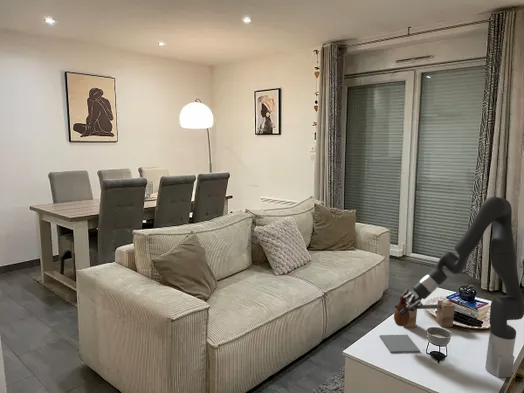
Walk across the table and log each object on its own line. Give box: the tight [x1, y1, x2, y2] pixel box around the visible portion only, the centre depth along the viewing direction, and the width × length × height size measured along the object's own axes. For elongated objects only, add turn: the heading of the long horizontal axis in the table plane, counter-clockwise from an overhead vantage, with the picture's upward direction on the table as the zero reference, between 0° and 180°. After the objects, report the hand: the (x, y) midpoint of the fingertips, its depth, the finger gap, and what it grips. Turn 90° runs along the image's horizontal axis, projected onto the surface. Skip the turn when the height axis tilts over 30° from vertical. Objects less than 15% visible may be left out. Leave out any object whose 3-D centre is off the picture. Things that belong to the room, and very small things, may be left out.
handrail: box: [402, 299, 456, 329], centre depth 204 cm, size 6×26×13 cm, turn 94°
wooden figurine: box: [393, 295, 410, 327], centre depth 183 cm, size 7×6×15 cm
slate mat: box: [379, 334, 421, 354], centre depth 186 cm, size 14×14×1 cm
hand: (398, 310), depth 183 cm, fingers closed on wooden figurine, 5 cm apart
